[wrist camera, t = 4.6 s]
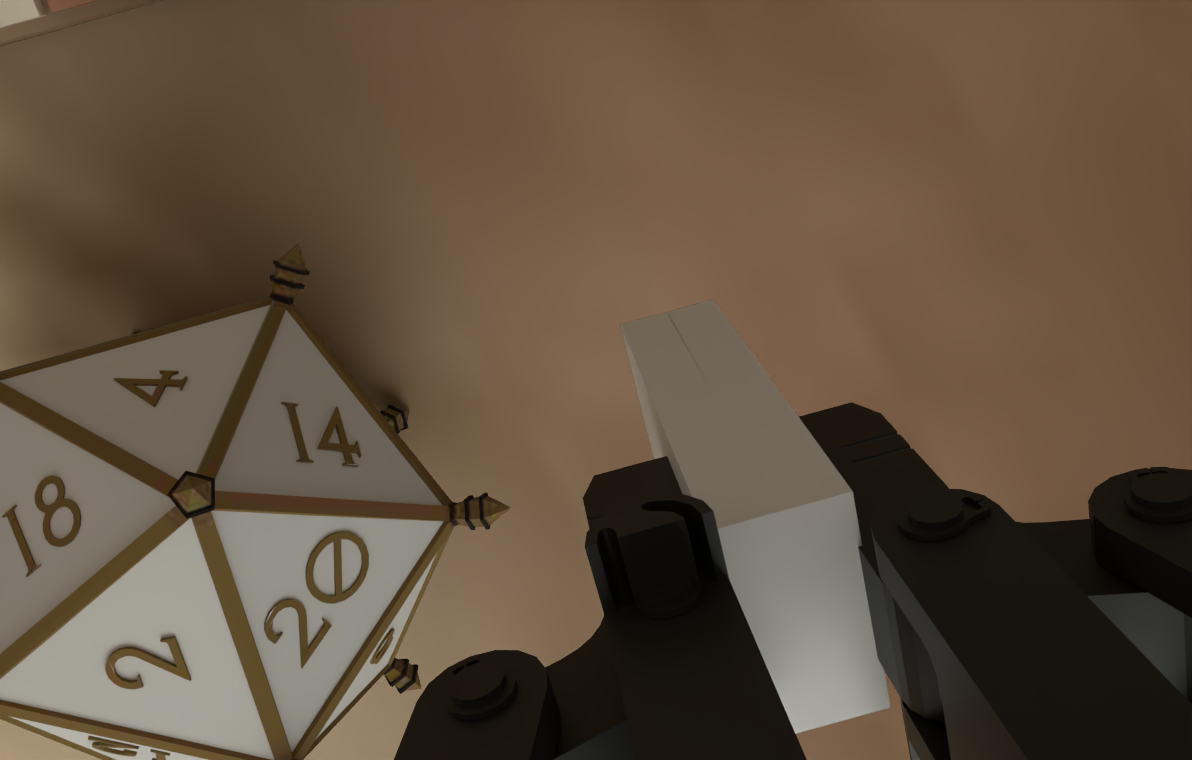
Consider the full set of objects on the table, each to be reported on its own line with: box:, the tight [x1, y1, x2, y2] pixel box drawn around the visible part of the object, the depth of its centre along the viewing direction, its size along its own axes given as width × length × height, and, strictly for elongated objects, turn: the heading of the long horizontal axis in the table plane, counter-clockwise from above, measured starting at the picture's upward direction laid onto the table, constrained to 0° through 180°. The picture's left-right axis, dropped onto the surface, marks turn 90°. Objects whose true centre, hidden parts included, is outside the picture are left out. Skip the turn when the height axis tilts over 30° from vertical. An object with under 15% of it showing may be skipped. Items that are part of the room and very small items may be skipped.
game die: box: [0, 244, 510, 760], centre depth 17 cm, size 9×8×10 cm
